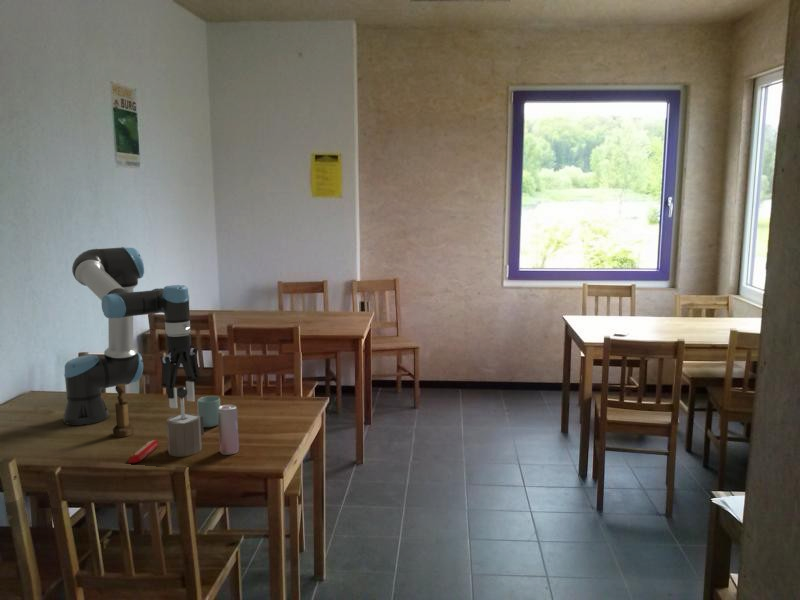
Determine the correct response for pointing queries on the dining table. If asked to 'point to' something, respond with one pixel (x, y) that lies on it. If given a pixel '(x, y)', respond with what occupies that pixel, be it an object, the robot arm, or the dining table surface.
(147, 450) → the candy bar
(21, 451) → the dining table surface
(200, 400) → the cup
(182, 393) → the joystick
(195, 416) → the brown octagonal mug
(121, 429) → the mortar and pestle
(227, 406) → the beverage can
